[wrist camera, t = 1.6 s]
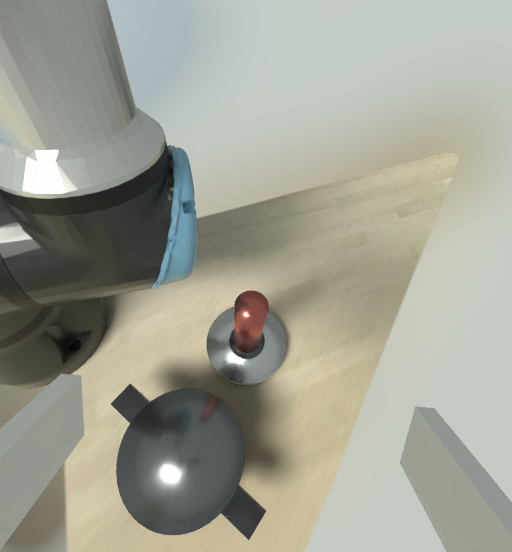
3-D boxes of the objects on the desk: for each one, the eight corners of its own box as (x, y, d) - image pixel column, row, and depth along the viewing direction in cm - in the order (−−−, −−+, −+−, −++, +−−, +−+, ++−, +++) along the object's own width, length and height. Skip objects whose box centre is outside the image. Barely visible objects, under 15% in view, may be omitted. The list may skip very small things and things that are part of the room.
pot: (96, 445, 33) (66, 444, 27) (171, 363, 37) (159, 347, 31) (217, 572, 28) (213, 605, 22) (284, 462, 33) (296, 464, 27)
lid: (200, 318, 41) (188, 272, 30) (271, 301, 43) (284, 252, 32) (217, 395, 36) (210, 373, 26) (295, 372, 38) (320, 341, 28)
